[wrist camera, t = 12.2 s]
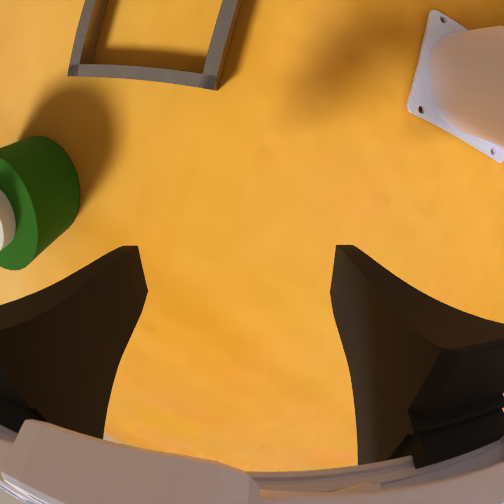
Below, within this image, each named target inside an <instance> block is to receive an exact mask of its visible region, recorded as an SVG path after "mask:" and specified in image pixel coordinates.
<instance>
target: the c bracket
mask: <svg viewBox="0 0 504 504" xmlns="http://www.w3.org/2000/svg"><path fill="white" fill-rule="evenodd" d="M107 3H108V0H85V3H84V6H83V10H82V13H81V17H80V20H79V24H78V28H77V32H76V36H75V40H74V45H73V49H72V54H71V59H70V64H69V70H68V76H84V77H110V78H125V79H137V80H148V81H157V82H165V83H173V84H180V85H187V86H193V87H199V88H205V89H211V90H218V87H219V83H220V79H221V75H222V71H223V67H224V63H225V59H226V56H227V52H228V48H229V44H230V41H231V37H232V34H233V30H234V27H235V23H236V20H237V16H238V13H239V10H240V6H241V3H242V0H223V1H222V4H221V8H220V11H219V14H218V18H217V21H216V25H215V28H214V32H213V35H212V39H211V42H210V46H209V50H208V54H207V58H206V61H205V65H204V69H203V74H200V73H194V72H187V71H179V70H171V69H163V68H153V67H141V66H127V65H105V64H92V62H93V57H94V52H95V48H96V44H97V39H98V35H99V31H100V27H101V24H102V20H103V16H104V13H105V9H106V6H107Z"/></svg>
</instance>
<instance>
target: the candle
mask: <svg viewBox="0 0 504 504" xmlns="http://www.w3.org/2000/svg"><path fill="white" fill-rule="evenodd" d="M79 205H80V185H79V180H78V176H77V173H76V170H75V167H74V165H73V163H72V161H71V159H70V158H69V156H68V154H67V153H66V152H65V151H64V149H63V148H62V147H61V146H60V145H58V144H57V143H56V142H55V141H53V140H51V139H49V138H46V137H41V136H36V137H30V138H27V139H24V140H21V141H19V142H16V143H13V144H10V145H8V146H5V147H2V148H0V266H1V267H3V268H5V269H9V270H20V269H23V268H25V267H26V266H27V265H28V264H30V263H31V262H32V261H33V260H34V259H35V258H36V257H37V256H38V255H39V254H40V253H41V252H42V251H43V250H44V249H46V248H47V247H48V246H49V245H50V244H51V243H52V242H53V241H54V240H55V239H57V238H58V237H59V236H60V235H61V234H62V233H63V232H65V231H66V230H67V229H68V228H69V227H70V226H71V224H72V223H73V222H74V220H75V218H76V216H77V213H78V209H79Z"/></svg>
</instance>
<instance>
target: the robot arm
mask: <svg viewBox="0 0 504 504" xmlns="http://www.w3.org/2000/svg"><path fill="white" fill-rule="evenodd" d="M440 18H442V19H443V20H444V23H443V22H441V20H440ZM419 106H421V107H422V112H421V113H420V112H419V111H418V108H419ZM406 107H407V110H408V111H409V112H410V113H412V114H414V115H416V116H418V117H420V118H422V119H424V120H426V121H428V122H430V123H432V124H434V125H436V126H438V127H439V128H441V129H443V130H445V131H447V132H449V133H451V134H452V135H454V136H456V137H458V138H459V139H461V140H463V141H465V142H466V143H468V144H470V145H471V146H473V147H475V148H476V149H478V150H479V151H481V152H483V153H484V154H486V155H487V156H489V157H490V158H492V159H493V160H495V161H496V162H499V163H502V162H503V161H504V25H502V26H494V27H486V28H479V29H473V30H468V29H466V28H465V27H463V26H462V25H460V24H459V23H457V22H456V21H454V20H453V19H451V18H449V17H448V16H446V15H445V14H443V13H441V12H440V11H438V10H431V11H430V12H429V14H428V19H427V24H426V29H425V33H424V38H423V42H422V47H421V51H420V55H419V59H418V63H417V67H416V71H415V75H414V78H413V82H412V86H411V89H410V93H409V96H408V100H407V104H406ZM491 149H492V153H491ZM147 293H148V289H147V285H146V281H145V277H144V272H143V268H142V263H141V259H140V254H139V249H138V246H122V247H119V248H117V249H115V250H113V251H111V252H109V253H107V254H106V255H104V256H102V257H100V258H99V259H97V260H95V261H94V262H92V263H90V264H89V265H87V266H85V267H84V268H82V269H80V270H78V271H77V272H75V273H73V274H71V275H70V276H68V277H66V278H64V279H63V280H61V281H59V282H57V283H55V284H53V285H51V286H49V287H47V288H45V289H42V290H40V291H38V292H36V293H33V294H31V295H28V296H25V297H23V298H20V299H18V300H15V301H12V302H9V303H6V304H3V305H0V488H1V489H3V490H4V491H6V492H7V493H9V494H11V495H12V496H14V497H15V498H17V499H19V500H21V501H22V502H24V503H25V504H503V503H504V412H503V410H502V408H504V396H503V393H504V324H503V323H499V322H495V321H491V320H487V319H483V318H480V317H477V316H475V315H472V314H469V313H466V312H463V311H461V310H458V309H456V308H453V307H451V306H449V305H447V304H444V303H442V302H440V301H438V300H436V299H434V298H432V297H430V296H428V295H426V294H424V293H423V292H421V291H419V290H417V289H415V288H414V287H412V286H411V285H409V284H407V283H406V282H404V281H403V280H401V279H400V278H398V277H397V276H395V275H394V274H392V273H391V272H390V271H388V270H387V269H385V268H384V267H383V266H381V265H380V264H379V263H377V262H376V261H375V260H373V259H372V258H371V257H369V256H368V255H367V254H365V253H364V252H363V251H361V250H360V249H358V248H357V247H355V246H353V245H336V251H335V259H334V267H333V275H332V282H331V289H330V295H331V302H332V308H333V314H334V318H335V321H336V325H337V328H338V332H339V335H340V338H341V342H342V345H343V348H344V352H345V355H346V359H347V362H348V366H349V371H350V376H351V382H352V389H353V397H354V405H355V415H356V427H357V443H358V465H357V466H350V467H342V468H333V469H322V470H309V471H288V472H246V471H243V470H240V469H237V468H234V467H231V466H228V465H226V464H223V463H220V462H217V461H212V460H206V459H201V458H196V457H191V456H186V455H181V454H174V453H167V452H161V451H155V450H149V449H143V448H138V447H133V446H128V445H124V444H119V443H115V442H111V441H107V440H103V434H104V426H105V420H106V414H107V408H108V403H109V399H110V394H111V390H112V386H113V382H114V379H115V375H116V372H117V368H118V365H119V362H120V360H121V357H122V355H123V353H124V350H125V348H126V346H127V344H128V341H129V339H130V337H131V335H132V333H133V330H134V328H135V326H136V324H137V322H138V319H139V317H140V315H141V313H142V310H143V306H144V303H145V300H146V296H147Z"/></svg>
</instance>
